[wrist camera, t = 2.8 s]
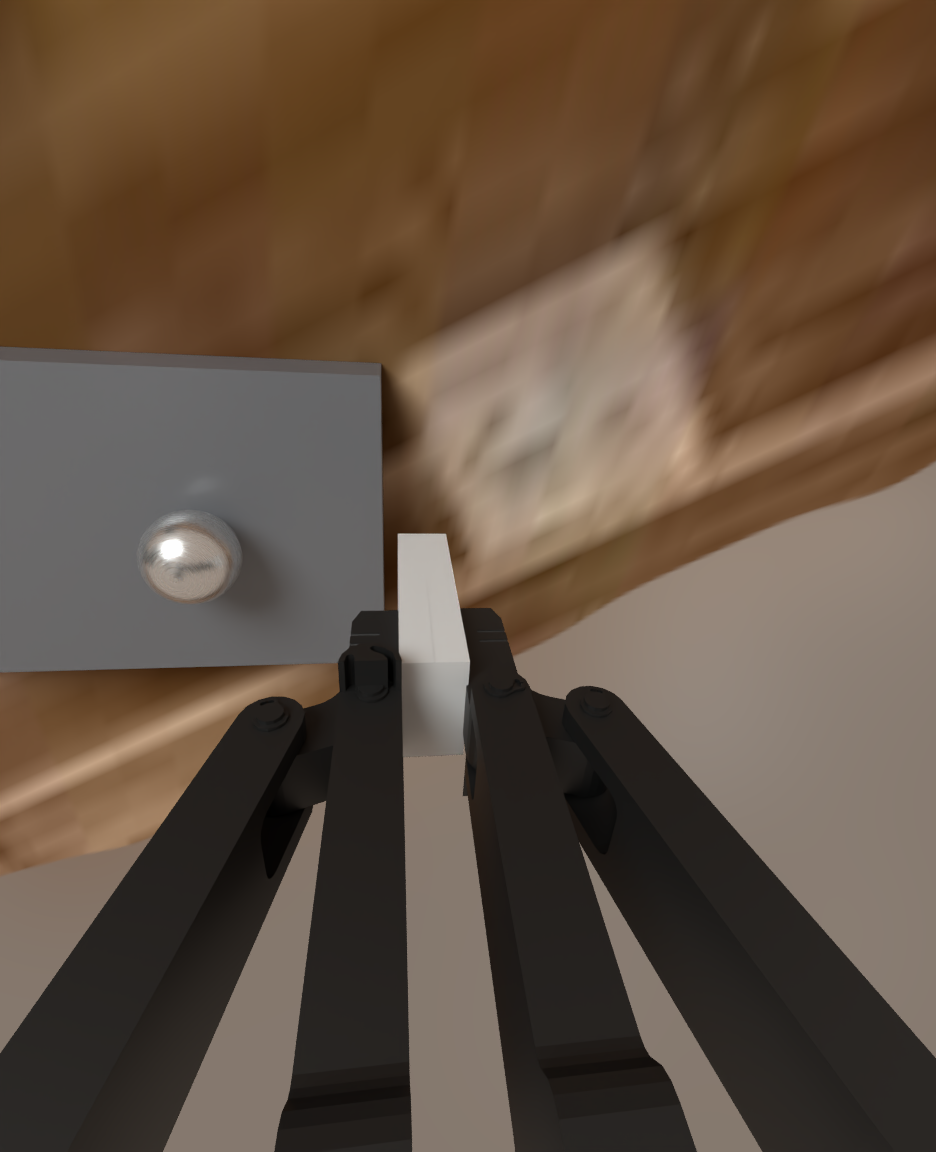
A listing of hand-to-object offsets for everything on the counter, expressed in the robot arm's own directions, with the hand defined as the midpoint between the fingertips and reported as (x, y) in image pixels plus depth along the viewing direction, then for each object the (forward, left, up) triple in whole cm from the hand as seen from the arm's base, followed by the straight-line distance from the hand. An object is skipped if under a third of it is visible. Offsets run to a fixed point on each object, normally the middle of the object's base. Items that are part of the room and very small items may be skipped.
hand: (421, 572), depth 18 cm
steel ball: (-7, 0, -1) cm, 7 cm away
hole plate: (-13, 0, -5) cm, 14 cm away
